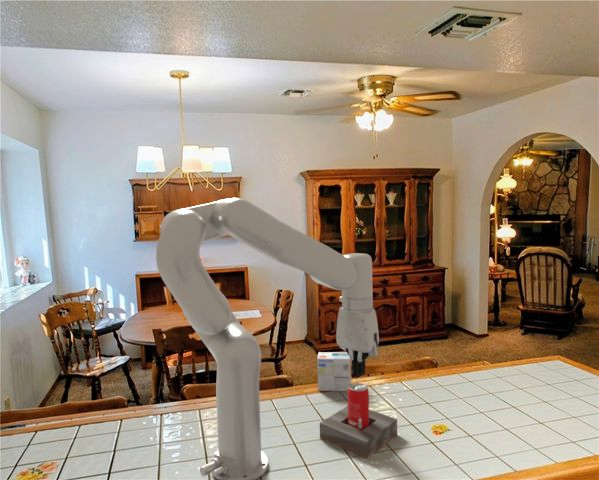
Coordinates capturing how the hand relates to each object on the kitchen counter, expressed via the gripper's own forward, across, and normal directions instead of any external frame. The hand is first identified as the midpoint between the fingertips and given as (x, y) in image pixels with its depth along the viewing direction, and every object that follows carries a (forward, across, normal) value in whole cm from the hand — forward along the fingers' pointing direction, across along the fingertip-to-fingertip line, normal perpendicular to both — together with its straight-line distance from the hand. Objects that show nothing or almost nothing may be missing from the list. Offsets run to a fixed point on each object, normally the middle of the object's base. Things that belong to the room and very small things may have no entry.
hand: (358, 375), depth 108 cm
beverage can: (+15, 0, 0) cm, 15 cm away
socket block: (+16, 0, 0) cm, 16 cm away
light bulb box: (+16, -23, +20) cm, 34 cm away
